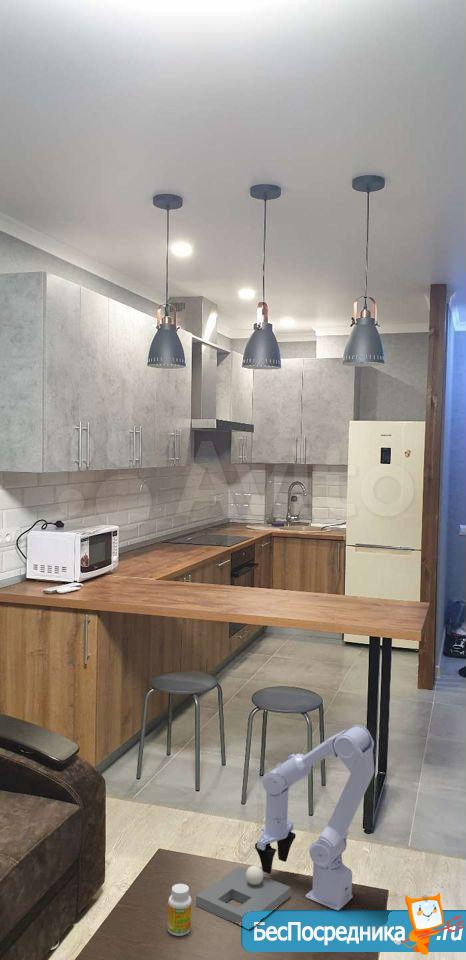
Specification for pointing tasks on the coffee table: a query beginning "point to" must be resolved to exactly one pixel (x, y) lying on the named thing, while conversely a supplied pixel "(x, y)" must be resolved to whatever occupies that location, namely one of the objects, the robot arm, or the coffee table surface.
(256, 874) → the ball
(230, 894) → the plate
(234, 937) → the coffee table surface
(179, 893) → the supplement bottle
